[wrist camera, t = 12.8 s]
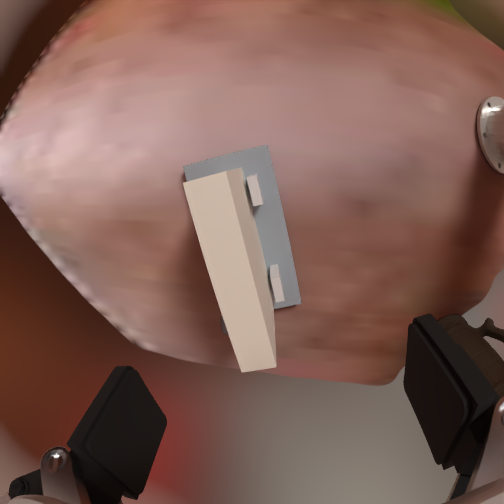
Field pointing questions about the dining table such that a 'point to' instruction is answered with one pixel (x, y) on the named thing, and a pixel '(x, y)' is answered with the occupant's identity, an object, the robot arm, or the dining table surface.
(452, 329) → the beer stein
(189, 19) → the dining table surface
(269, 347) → the cabinet door
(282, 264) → the hinge plate
